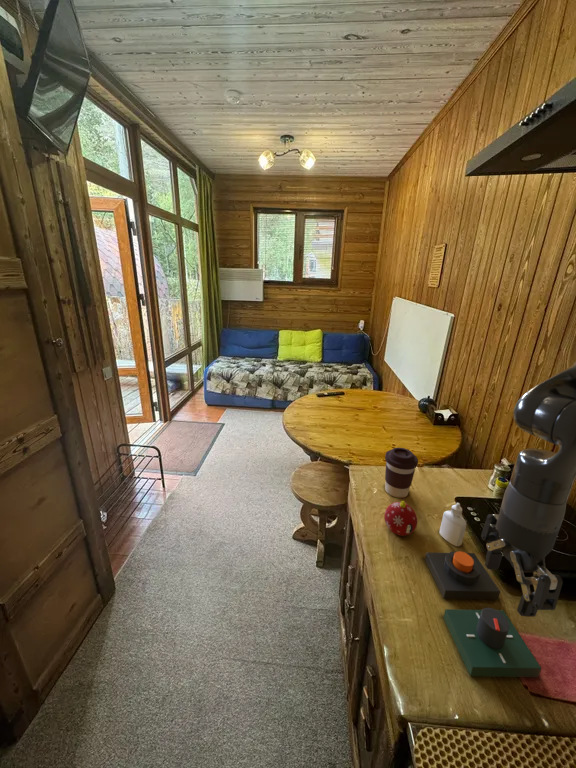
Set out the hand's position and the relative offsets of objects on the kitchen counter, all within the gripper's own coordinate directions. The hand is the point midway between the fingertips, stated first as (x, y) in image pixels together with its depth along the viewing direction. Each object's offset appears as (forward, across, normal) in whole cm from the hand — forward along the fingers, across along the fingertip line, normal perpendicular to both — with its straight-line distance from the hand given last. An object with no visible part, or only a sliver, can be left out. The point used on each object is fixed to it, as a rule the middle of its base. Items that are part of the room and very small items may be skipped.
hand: (506, 589), depth 54 cm
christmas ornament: (+15, +29, +7) cm, 34 cm away
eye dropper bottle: (+16, +26, -6) cm, 31 cm away
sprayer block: (+15, +14, -2) cm, 21 cm away
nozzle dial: (+12, 0, 0) cm, 12 cm away
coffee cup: (+15, +46, +2) cm, 49 cm away
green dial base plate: (+15, 0, 0) cm, 15 cm away
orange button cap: (+11, +14, -2) cm, 18 cm away
